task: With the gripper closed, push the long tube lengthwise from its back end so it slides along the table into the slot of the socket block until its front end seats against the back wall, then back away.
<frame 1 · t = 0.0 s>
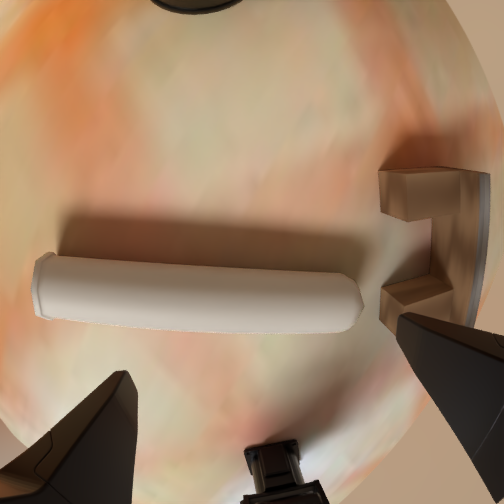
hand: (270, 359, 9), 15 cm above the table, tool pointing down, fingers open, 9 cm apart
socket: (403, 246, 25), on the table
tube: (201, 284, 24), on the table
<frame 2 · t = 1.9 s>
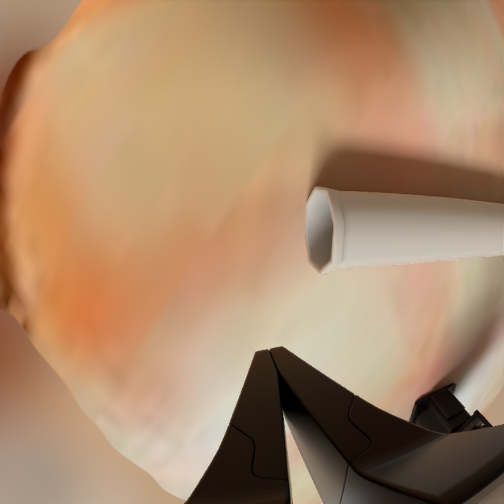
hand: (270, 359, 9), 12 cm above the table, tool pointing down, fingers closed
tube: (438, 220, 22), on the table
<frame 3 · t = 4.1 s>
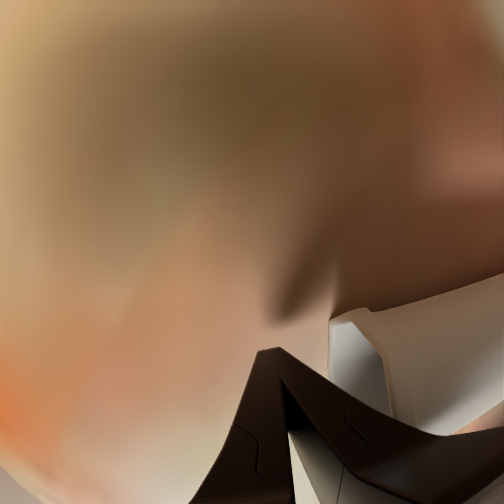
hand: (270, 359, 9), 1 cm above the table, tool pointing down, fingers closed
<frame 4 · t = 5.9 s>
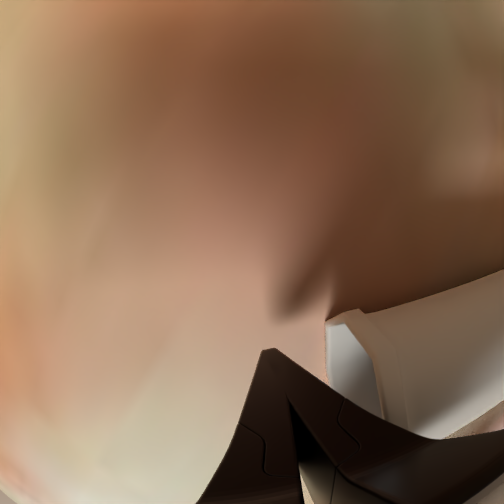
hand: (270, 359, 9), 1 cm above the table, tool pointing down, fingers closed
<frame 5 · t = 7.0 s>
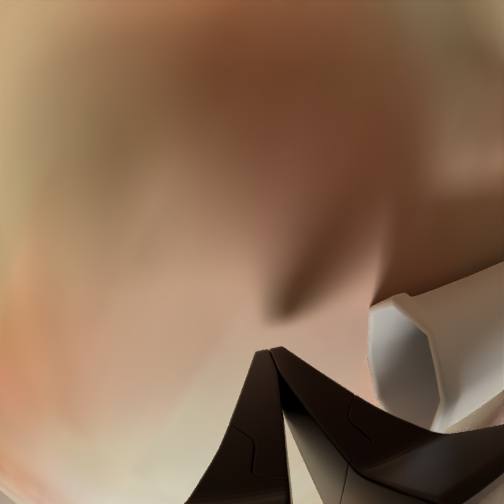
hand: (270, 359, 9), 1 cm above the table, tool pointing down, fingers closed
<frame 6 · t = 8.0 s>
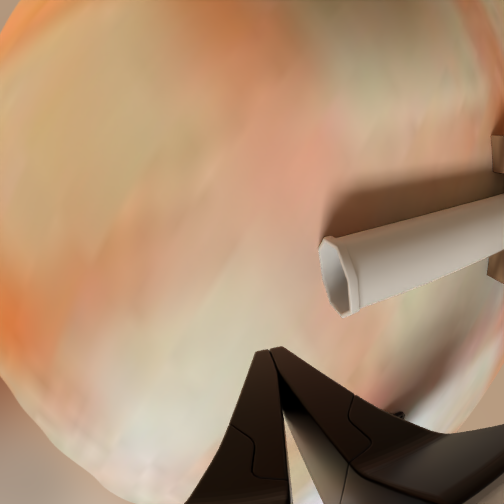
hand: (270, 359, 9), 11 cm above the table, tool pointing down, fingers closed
tube: (447, 226, 22), on the table
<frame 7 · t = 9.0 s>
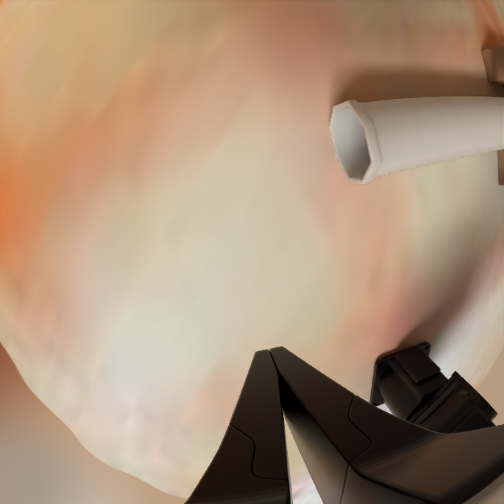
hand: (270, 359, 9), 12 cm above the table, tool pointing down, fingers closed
tube: (452, 124, 20), on the table
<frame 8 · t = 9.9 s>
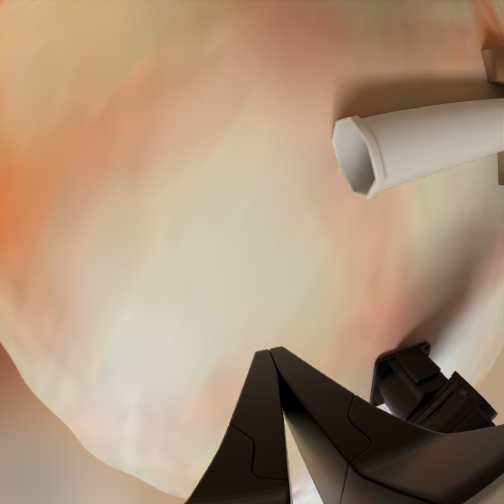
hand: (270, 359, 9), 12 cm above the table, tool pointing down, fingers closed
tube: (453, 128, 20), on the table
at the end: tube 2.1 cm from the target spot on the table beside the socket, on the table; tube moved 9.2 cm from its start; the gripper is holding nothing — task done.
